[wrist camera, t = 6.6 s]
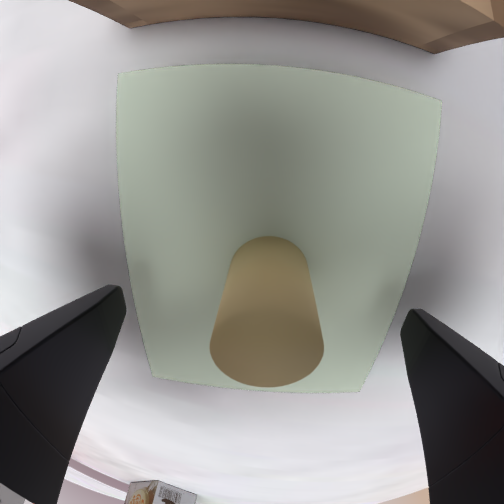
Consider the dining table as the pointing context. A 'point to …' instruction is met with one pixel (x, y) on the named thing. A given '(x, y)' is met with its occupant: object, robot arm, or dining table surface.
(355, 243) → the lid
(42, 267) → the dining table surface
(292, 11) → the box
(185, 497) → the coffee box
